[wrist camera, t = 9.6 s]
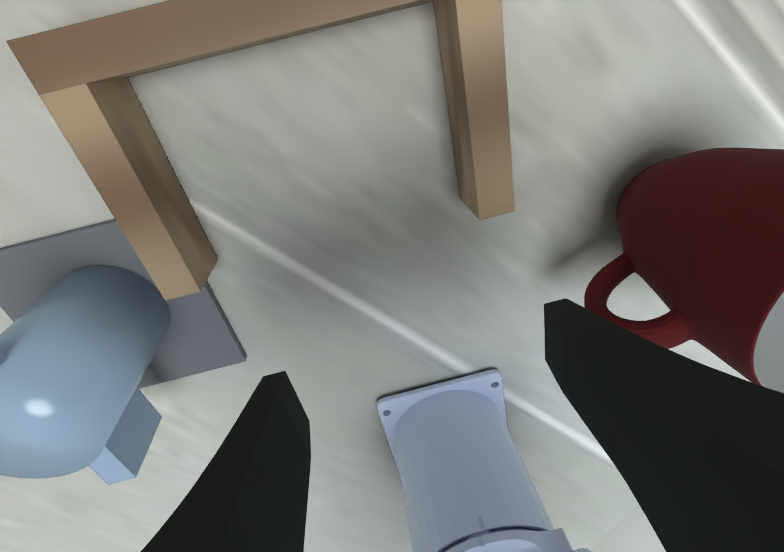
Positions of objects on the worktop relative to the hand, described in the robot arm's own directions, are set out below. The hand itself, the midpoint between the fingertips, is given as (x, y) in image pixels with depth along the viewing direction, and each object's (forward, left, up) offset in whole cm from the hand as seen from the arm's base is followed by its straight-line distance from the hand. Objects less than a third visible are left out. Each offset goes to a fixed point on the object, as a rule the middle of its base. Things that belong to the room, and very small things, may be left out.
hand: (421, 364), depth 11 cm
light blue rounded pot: (-1, +14, -9) cm, 16 cm away
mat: (-1, +14, -10) cm, 17 cm away
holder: (+4, +2, -10) cm, 11 cm away
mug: (-3, -13, -10) cm, 17 cm away
